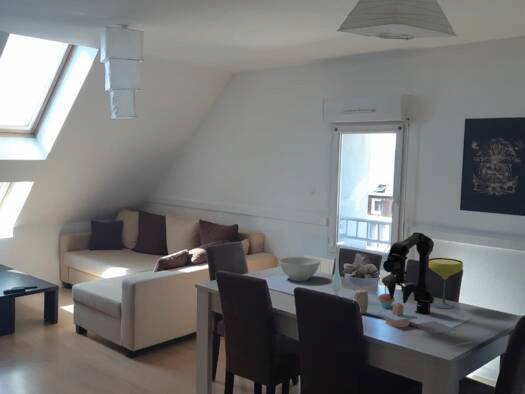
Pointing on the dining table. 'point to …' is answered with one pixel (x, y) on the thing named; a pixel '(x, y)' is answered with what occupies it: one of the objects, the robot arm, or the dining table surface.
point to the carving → (362, 299)
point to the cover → (397, 314)
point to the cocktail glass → (445, 273)
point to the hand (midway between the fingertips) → (398, 300)
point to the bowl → (397, 323)
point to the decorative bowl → (299, 267)
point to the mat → (434, 327)
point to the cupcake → (386, 300)
